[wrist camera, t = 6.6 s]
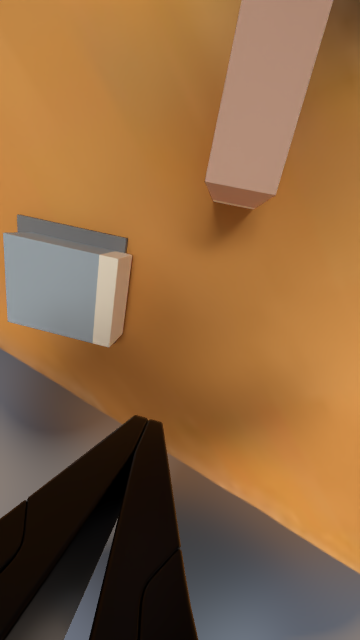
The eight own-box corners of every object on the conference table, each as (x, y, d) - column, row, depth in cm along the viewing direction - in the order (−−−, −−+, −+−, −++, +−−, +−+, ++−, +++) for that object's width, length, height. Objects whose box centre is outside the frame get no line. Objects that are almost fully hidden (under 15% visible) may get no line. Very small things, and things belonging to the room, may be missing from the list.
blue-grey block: (118, 258, 15) (3, 232, 16) (109, 347, 18) (7, 321, 18) (132, 254, 18) (31, 232, 18) (122, 333, 20) (32, 310, 20)
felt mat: (127, 238, 18) (126, 238, 17) (115, 342, 21) (114, 343, 20) (20, 214, 18) (17, 214, 18) (23, 318, 21) (20, 319, 21)
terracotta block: (286, 89, 14) (349, -54, 7) (253, 209, 16) (275, 195, 9) (239, 81, 14) (254, -64, 7) (213, 201, 16) (204, 181, 9)
